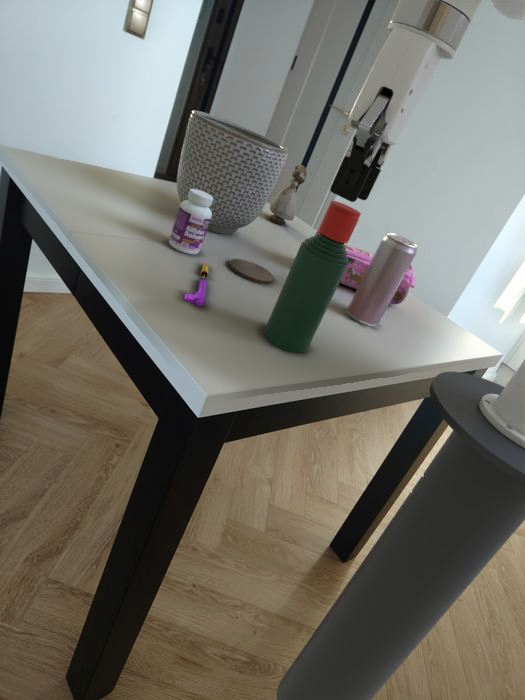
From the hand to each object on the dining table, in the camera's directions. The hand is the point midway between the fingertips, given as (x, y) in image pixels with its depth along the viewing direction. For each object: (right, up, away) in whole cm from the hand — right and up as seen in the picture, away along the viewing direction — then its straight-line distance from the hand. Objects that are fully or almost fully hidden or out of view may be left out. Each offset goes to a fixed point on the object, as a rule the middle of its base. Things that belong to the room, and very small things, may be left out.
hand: (349, 194), depth 60 cm
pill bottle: (-24, -1, +26) cm, 35 cm away
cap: (-2, -4, +2) cm, 5 cm away
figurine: (-6, +14, +70) cm, 72 cm away
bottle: (-7, -17, +9) cm, 20 cm away
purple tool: (-20, -9, +15) cm, 26 cm away
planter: (-21, +7, +44) cm, 50 cm away
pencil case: (+7, -6, +42) cm, 43 cm away
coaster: (-12, -5, +28) cm, 31 cm away
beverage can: (+7, -13, +29) cm, 32 cm away
